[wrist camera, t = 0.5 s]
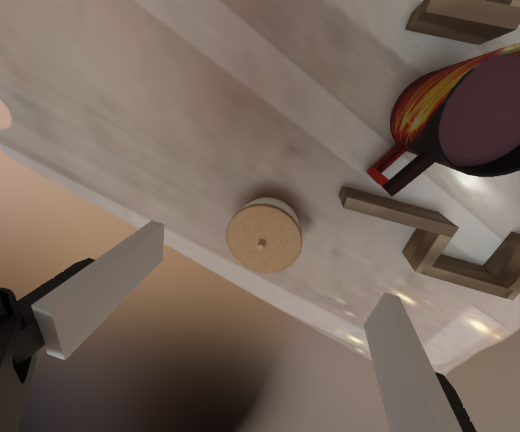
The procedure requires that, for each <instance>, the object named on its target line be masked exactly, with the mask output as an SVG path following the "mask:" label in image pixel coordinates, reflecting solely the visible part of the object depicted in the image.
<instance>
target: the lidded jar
mask: <svg viewBox="0 0 520 432" xmlns="http://www.w3.org/2000/svg"><path fill="white" fill-rule="evenodd" d="M226 239H227V244H228V247H229V249H230V252H231V253H232V255H233V256H234V257H235V258H236V260H237V261H239V262H240V263H241V264H242V265H244V266H245V267H247V268H249V269H251V270H254V271H257V272H261V273H274V272H279V271H282V270H284V269H286V268H288V267H289V266H291V265H292V264H293V263H294V262H295V261H296V260H297V258H298V257H299V254H300V252H301V248H302V233H301V225H300V222H299V219H298V217H297V215H296V213H295V212H294V210H293V209H292V208H291V207H290V206H289V205H287V204H286V203H285V202H283V201H281V200H278V199H275V198H268V197H264V198H258V199H255V200H253V201H251V202H249V203H247V204H246V205H245V206H243V207H242V208H241V209H240V210H239V211H238V212H237V213H236V214H235V215H234V216H233V218H232V219H231V221H230V222H229V225H228V227H227V231H226Z"/></svg>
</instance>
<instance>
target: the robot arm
mask: <svg viewBox="0 0 520 432" xmlns="http://www.w3.org/2000/svg"><path fill="white" fill-rule="evenodd" d="M163 239H164V224H162V223H159V222H155V221H151V222H149V223H148V224H146V225H145V226H144V227H142V228H141V229H139V230H138V231H136V232H135V233H134V234H132V235H131V236H129V237H128V238H126V239H125V240H124V241H122V242H121V243H120V244H118V245H116V246H115V247H114V248H112V249H111V250H109V251H108V252H106V253H105V254H104V255H102V256H101V257H99V258H98V259H96V260H94V259H90V258H88V259H85V260H82V261H80V262H77V263H75V264H73V265H72V266H70V267H69V268H67V269H66V270H64V272H61V273H60V274H58V275H57V276H55V278H53V279H50V280H49V281H47V282H46V283H44V284H43V285H41V286H40V287H38V288H37V289H35V290H34V291H32V292H31V293H29V294H28V295H26V296H24V297H23V298H21V299H20V300H18V301H16V297H15V295H14V293H13V292H12V291H11V290H10V289H6V288H0V432H18V428H19V424H20V420H21V416H22V412H23V408H24V405H25V401H26V397H27V393H28V389H29V385H30V381H31V378H32V373H33V370H34V366H35V362H36V358H37V354H36V352H37V351H38V350H39V349H40V348H41V347H42V346H43V345H45V347H46V350H47V353H48V354H50V355H53V356H55V357H58V358H60V359H63V360H66V358H68V357H69V355H71V353H72V352H73V351H74V350H75V349H76V348H77V347H78V346H79V345H80V344H81V343H82V342H83V341H84V340H85V339H86V338H87V337H88V336H89V335H90V334H91V333H92V332H93V331H94V330H95V329H96V328H97V327H98V326H99V325H100V324H101V323H102V322H103V321H104V320H105V319H106V318H107V317H108V316H109V314H111V313H112V312H113V311H114V310H115V309H116V308H117V306H118V305H119V304H120V303H121V302H122V301H123V300H124V299H125V298H126V297H127V296H128V295H129V294H130V293H131V292H132V291H133V290H134V289H135V288H136V287H137V286H138V285H139V284H140V283H141V282H142V281H143V280H144V279H145V278H146V277H147V276H148V275H149V274H150V273H151V272H152V271H153V270H154V269H155V268H156V266H158V265H159V264H160V263H161V262H162V261H163ZM364 328H365V332H366V336H367V340H368V344H369V348H370V353H371V357H372V361H373V365H374V369H375V373H376V377H377V381H378V385H379V389H380V393H381V397H382V401H383V405H384V409H385V414H386V418H387V422H388V426H389V430H390V432H477V431H476V430H475V428H474V426H473V424H472V422H470V418H469V416H468V414H467V412H466V410H465V409H464V408H463V404H462V402H461V400H460V399H459V397H458V395H457V393H456V391H455V389H454V388H453V387H452V385H451V384H450V383H449V381H448V380H447V379H446V378H445V376H444V375H443V374H440V373H437V372H434V370H433V368H432V365H431V363H430V361H429V359H428V357H427V355H426V353H425V351H424V349H423V346H422V344H421V342H420V340H419V338H418V336H417V334H416V332H415V329H414V327H413V325H412V323H411V321H410V319H409V317H408V315H407V312H406V310H405V308H404V306H403V304H402V302H401V300H400V298H399V297H398V296H395V295H392V294H388V293H384V295H383V296H382V298H381V300H380V301H379V303H378V304H377V306H376V307H375V309H374V310H373V312H372V313H371V315H370V316H369V318H368V319H367V321H366V322H365V324H364Z"/></svg>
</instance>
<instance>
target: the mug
mask: <svg viewBox="0 0 520 432" xmlns="http://www.w3.org/2000/svg"><path fill="white" fill-rule="evenodd" d="M390 129H391V133H392V136H393V138H394V140H395V142H396V143H397V145H396V146H395V147H393V148H392V149H391V150H390V151H389V152H388V153H387V154H386V155H385V156H384V157H383V158H381V159H380V160H379V161H378V162H377V163H376V164H375V165H374V166H373V167H371V168H370V169H369V170H368V171H367V173H368V174H369V175H370V176H371V177H372V178H373V179H374V180H375V181H376V182H377V183H378V184H380V185H381V186H382V187H383V188H384V189H385V190H386V191H387V192H388V193H389V194H390V195H391V196H393V195H395V194H396V193H397V192H399V191H400V190H401V189H403V188H404V187H405V186H406V185H407V184H409V183H410V182H411V181H412V180H414V179H415V178H416V177H417V176H418V175H420V174H421V173H422V172H423V171H425V170H426V169H427V168H428V167H430V166H431V165H432V164H433V163H434V162H436V163H439V164H442V165H444V166H447V167H449V168H452V169H455V170H457V171H460V172H462V173H465V174H467V175H473V176H478V177H494V176H500V175H506V174H510V173H513V172H516V171H519V170H520V43H518V44H515V45H511V46H508V47H505V48H502V49H499V50H496V51H493V52H490V53H487V54H484V55H481V56H478V57H475V58H472V59H469V60H466V61H463V62H460V63H457V64H454V65H451V66H448V67H445V68H442V69H440V70H437V71H434V72H431V73H428V74H426V75H424V76H422V77H420V78H418V79H417V80H415V81H414V82H412V83H411V84H410V85H409V86H408V87H407V88H406V89H405V90H404V91H403V92H402V94H401V95H400V96H399V98H398V99H397V101H396V103H395V105H394V107H393V110H392V113H391V119H390ZM406 151H408V152H411V153H413V154H416V155H418V156H417V157H416V158H415V159H413V160H412V161H411V162H410V163H409V164H408V165H406V166H405V167H404V168H403V169H402V170H401V171H399V172H398V173H397V174H396V175H395V176H394V177H392V178H391V179H390V180H388V179H387V178H386V177H385V176H384V175H382V174H381V173H382V172H383V171H384V170H385V169H386V168H388V167H389V166H390V165H391V164H392V163H393V162H394V161H395V160H397V159H398V158H399V157H400V156H401V155H402V154H403V153H404V152H406Z"/></svg>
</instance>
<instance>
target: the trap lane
mask: <svg viewBox="0 0 520 432" xmlns="http://www.w3.org/2000/svg"><path fill="white" fill-rule="evenodd" d="M519 23H520V0H486V1H485V0H424V1H423V2H422V3H421V4H420V5H419V6H418V7H417V8H416V9H415V10H414V11H413V12H412V14H411V17H410V19H409V22H408V24H407V27H406V29H405V30H410V31H415V32H420V33H424V34H429V35H434V36H439V37H444V38H449V39H454V40H458V41H463V42H468V43H473V44H478V45H480V44H482V43H485V42H487V41H489V40H492V39H494V38H497V37H499V36H502V35H504V34H507V33H509V32H512V31H514V30H516V29H517V27H518V25H519ZM339 197H340V200H341V203H342V206H343V208H346V209H350V210H353V211H357V212H360V213H364V214H368V215H371V216H375V217H379V218H382V219H386V220H389V221H393V222H397V223H400V224H404V225H407V226H411V227H415V228H416V230H415V232H414V233H413V235H412V237H411V238H410V240H409V242H408V243H407V245H406V246H405V248H404V250H403V251H402V253H403V254H404V256H405V257H406V259H407V260H408V262H409V263H410V265H411V266H412V268H413V269H414V271H415V272H418V273H420V274H424V275H427V276H431V277H434V278H437V279H441V280H444V281H448V282H451V283H454V284H458V285H461V286H465V287H468V288H472V289H475V290H478V291H482V292H485V293H489V294H492V295H495V296H499V297H502V298H506V299H510V300H513V299H514V298H515V297H516V296H517V295H518V294H519V293H520V234H518V233H514V232H511V233H510V234H509V235H508V237H507V238H506V239H505V240H504V241H503V243H502V244H501V245H500V246H499V248H498V249H497V250H496V251H495V252H494V254H493V255H492V256H491V257H490V258H489V260H488V261H487V262H486V263H485V264H484V266H480V265H476V264H473V263H469V262H466V261H462V260H459V259H455V258H452V257H448V256H445V255H441V253H442V251H443V250H444V248H445V247H446V245H447V244H448V243H449V241H450V240H451V238H452V237H453V235H454V234H455V233H456V231H457V230H458V228H459V227H457V226H456V225H455V224H453V223H452V222H451V221H449V220H448V219H447V218H445V217H444V216H443V215H442V214H440V213H439V212H436V211H432V210H428V209H425V208H421V207H417V206H414V205H410V204H406V203H402V202H399V201H395V200H391V199H388V198H384V197H380V196H376V195H373V194H369V193H365V192H361V191H358V190H354V189H350V188H347V187H342V189H341V192H340V194H339Z"/></svg>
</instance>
